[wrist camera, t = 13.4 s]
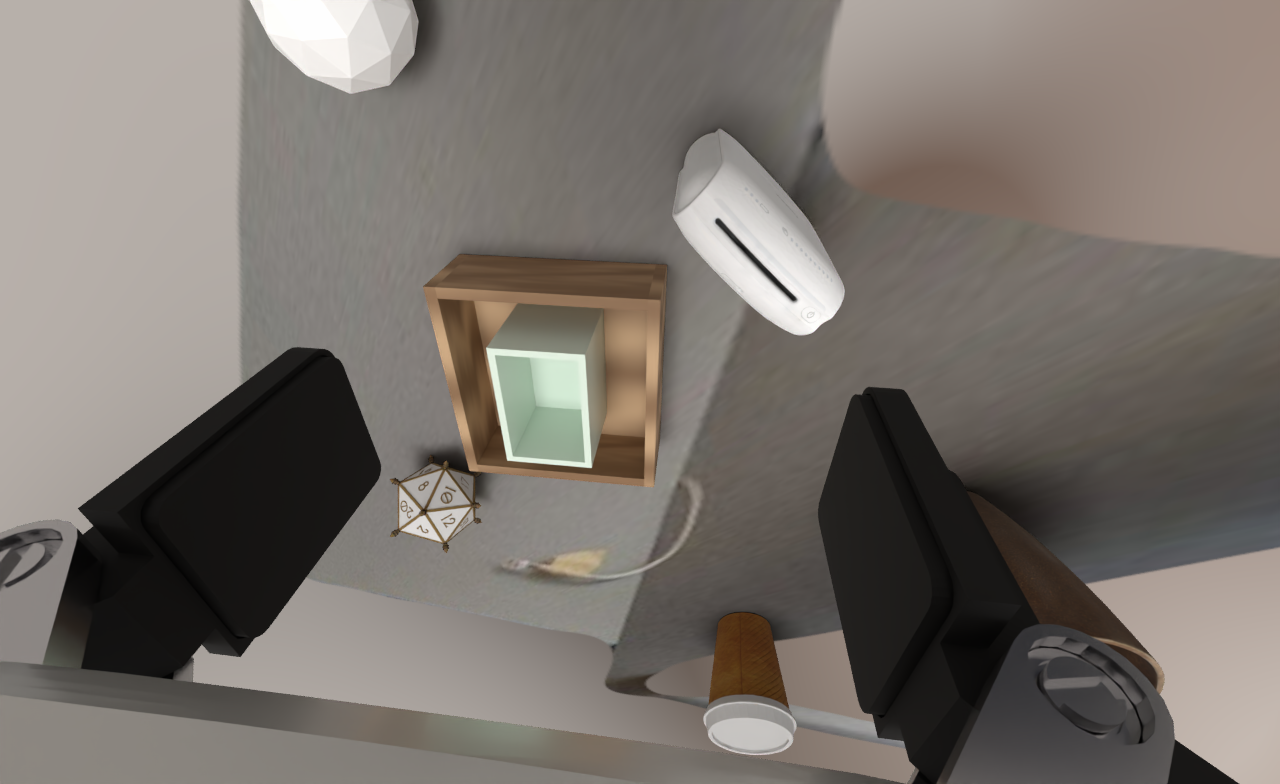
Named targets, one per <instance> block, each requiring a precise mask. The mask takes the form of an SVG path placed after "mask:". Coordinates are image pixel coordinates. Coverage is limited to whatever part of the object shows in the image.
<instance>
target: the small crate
mask: <svg viewBox="0 0 1280 784" xmlns="http://www.w3.org/2000/svg"><path fill="white" fill-rule="evenodd" d="M486 350H487V355H488V361H489V366H490V371H491V377H492V382H493V387H494V393H495V398H496V403H497V409H498V414H499V419H500V424H501V430H502V435H503V440H504V446H505V451H506V456H507V461H517V462H529V463H540V464H551V465H563V466H574V467H586V468H592V466H593V462H594V458H595V455H596V451H597V447H598V444H599V440H600V436H601V433H602V429H603V425H604V422H605V418H606V414H607V395H606V366H605V336H604V308H588V307H571V306H554V305H537V304H520V303H518V304H517V305H516V307H515V308H514V309H513V311H512V312H511V314H510V315H509V316H508V318H507V319H506V321H505V322H504V324H503V325H502V326H501V328H500V329H499V331H498V332H497V333H496V335H495V336H494V338H493V339H492V340H491V342H490V343H489V345H488V346H487V348H486Z"/></svg>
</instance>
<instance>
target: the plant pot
mask: <svg viewBox="0 0 1280 784" xmlns="http://www.w3.org/2000/svg"><path fill="white" fill-rule="evenodd" d="M967 493H968V495H969V496H970V498H971V500H972V502H973V504H974V505H975V507H976V509H977V511H978V513H979V514H980V516H981V518H982V520H983V522H984V523H985V525H986V527H987V529H988V531H989V532H990V534H991V536H992V538H993V540H994V541H995V543H996V545H997V547H998V549H999V550H1000V552H1001V554H1002V556H1003V558H1004V559H1005V561H1006V563H1007V565H1008V567H1009V568H1010V570H1011V572H1012V574H1013V576H1014V577H1015V579H1016V581H1017V583H1018V585H1019V586H1020V588H1021V590H1022V592H1023V594H1024V595H1025V597H1026V599H1027V601H1028V603H1029V604H1030V606H1031V608H1032V610H1033V612H1034V613H1035V615H1036V617H1037V619H1038V621H1039V622H1040V624H1052V625H1060V626H1064V627H1068V628H1071V629H1075V630H1078V631H1081V632H1083V633H1085V634H1087V635H1089V636H1091V637H1093V638H1095V639H1097V640H1100V641H1102V642H1103V643H1105V644H1106V645H1108V646H1109V647H1111V648H1112V649H1114V650H1115V651H1116V652H1118V653H1119V654H1121V655H1122V656H1124V657H1125V658H1126V659H1128V660H1129V661H1130V662H1131V663H1132V664H1133V665H1134V666H1135V667H1136V668H1137V669H1138V670H1139V671H1140V672H1141V673H1142V674H1143V675H1145V676H1146V677H1147V678H1148V680H1149V681H1150V682H1151V684H1152V685H1153V686H1154V688H1155V689H1156V690H1157V692H1158V693H1159V694H1160V693H1161V691H1162V689H1163V685H1164V673H1163V671H1162V669H1161V667H1160V666H1159V664H1158V663H1157V662H1156V660H1155V659H1154V658H1153V657H1152V656H1151V655H1150V654H1149V652H1148V651H1147V650H1146V649H1145V648H1144V647H1143V646H1142V645H1141V643H1140V642H1139V641H1138V640H1137V639H1136V638H1135V637H1134V636H1133V634H1132V633H1131V632H1130V631H1129V630H1128V629H1127V628H1126V627H1125V626H1124V625H1123V623H1121V621H1120V620H1119V619H1118V618H1117V617H1116V616H1115V615H1114V614H1113V613H1112V612H1111V610H1110V609H1109V608H1108V607H1107V606H1106V605H1105V604H1104V603H1103V602H1102V601H1101V600H1100V599H1099V598H1098V597H1097V596H1096V595H1095V594H1094V593H1093V592H1092V591H1091V590H1090V589H1089V588H1088V587H1087V586H1086V585H1085V584H1084V583H1083V582H1082V581H1081V580H1080V579H1079V578H1078V577H1077V576H1076V575H1075V574H1074V573H1073V572H1072V571H1071V570H1070V569H1069V568H1068V567H1066V566H1065V565H1064V564H1063V563H1062V562H1061V561H1060V560H1059V559H1058V558H1057V557H1056V556H1055V555H1054V554H1053V553H1051V552H1050V551H1049V550H1048V549H1047V548H1046V547H1045V546H1044V545H1042V544H1041V543H1040V542H1039V541H1038V540H1037V539H1036V538H1034V537H1033V536H1032V535H1031V534H1030V533H1028V532H1027V531H1026V530H1025V529H1024V528H1022V527H1021V526H1020V525H1018V524H1017V523H1016V522H1015V521H1013V520H1012V519H1011V518H1010V517H1008V516H1007V515H1006V514H1004V513H1003V512H1002V511H1000V510H999V509H998V508H996V507H995V506H994V505H992V504H991V503H989V502H988V501H986V500H985V499H983V498H982V497H981V496H979V495H977V494H975V493H973V492H969V491H967Z"/></svg>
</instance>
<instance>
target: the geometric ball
mask: <svg viewBox="0 0 1280 784" xmlns="http://www.w3.org/2000/svg"><path fill="white" fill-rule="evenodd" d="M250 2H251V4H252V6H253V8H254V10H255V11H256V13H257V15H258V17H259V19H260V21H261V23H262V25H263V27H264V29H265V31H266V33H267V34H268V36H269V38H270V40H271V42H272V43H273V45H274V47H275V48H276V49H278V50H279V51H280V52H281V53H282V54H283V55H284V56H285V57H286V58H288V59H289V60H290V61H291V62H292V63H293V64H294V65H295V66H297V67H298V68H299V69H300V70H301V71H302V72H303V73H304V74H305V75H307V76H309V77H311V78H314V79H316V80H319V81H321V82H323V83H326V84H328V85H331V86H333V87H335V88H338V89H340V90H343V91H345V92H348V93H350V94H352V93H357V92H361V91H366V90H370V89H375V88H380V87H384V86H389V85H390V84H391V83H392V82H393V81H394V79H395V78H396V77H397V75H398V74H399V73H400V72H401V70H402V69H403V68H404V67H405V65H406V64H407V63H408V62H409V60H410V59H411V58H412V57H413V55H414V52H415V45H416V38H417V30H418V23H419V21H418V17H417V14H416V11H415V8H414V4H413V1H412V0H250Z"/></svg>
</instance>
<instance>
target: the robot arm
mask: <svg viewBox="0 0 1280 784" xmlns="http://www.w3.org/2000/svg"><path fill="white" fill-rule="evenodd" d="M380 472H381V464H380V460H379V458H378V455H377V453H376V450H375V447H374V445H373V442H372V440H371V437H370V434H369V432H368V429H367V427H366V424H365V421H364V419H363V416H362V414H361V411H360V408H359V406H358V403H357V401H356V398H355V395H354V393H353V390H352V388H351V385H350V382H349V380H348V377H347V375H346V372H345V369H344V367H343V365H342V363H341V361H340V360H339V359H337V358H335V357H334V355H333V354H332V353H331V352H330V351H328V350H325V349H315V348H301V347H295V348H291V349H289V350H287V351H286V352H284V353H283V354H282V355H281V356H279V357H278V358H277V359H275V360H274V361H273V362H271V363H270V364H269V365H267V366H266V367H265V368H263V369H262V370H261V371H259V372H258V373H257V374H255V375H254V376H253V377H251V378H250V379H249V380H247V381H246V382H245V383H243V384H242V385H241V386H239V387H238V388H237V389H235V390H234V391H233V392H232V393H230V394H229V395H228V396H226V397H225V398H224V399H222V400H221V401H220V402H218V403H217V404H216V405H214V406H213V407H212V408H210V409H209V410H208V411H206V412H205V413H204V414H202V415H201V416H200V417H198V418H197V419H196V420H194V421H193V422H192V423H191V424H189V425H188V426H186V427H185V428H184V429H182V430H181V431H180V432H179V433H177V434H176V435H175V436H173V437H172V438H171V439H169V440H168V441H167V442H165V443H164V444H163V445H161V446H160V447H159V448H157V449H156V450H155V451H153V452H152V453H151V454H149V455H148V456H147V457H145V458H144V459H143V460H142V461H140V462H139V463H138V464H136V465H135V466H133V467H132V468H131V469H130V470H128V471H127V472H126V473H125V474H123V475H122V476H120V477H119V478H118V479H116V480H115V481H114V482H112V483H111V484H110V485H108V486H107V487H106V488H104V489H103V490H102V491H100V492H99V493H98V494H96V495H95V496H94V497H93V498H91V499H90V500H88V501H87V502H86V503H85V504H83V505H82V506H81V507H79V508H78V509H79V510H80V511H81V513H82V514H83V515H84V516H85V517H86V518H87V519H88V520H89V521H90V522H91V523H92V524H93V527H92V528H91V529H89V530H88V531H87V532H86V533H84V534H82V533H81V532H80V531H79V530H78V529H77V528H76V527H75V526H74V525H73V524H72V523H70V522H67V521H61V520H46V521H38V522H33V523H29V524H25V525H21V526H18V527H15V528H12V529H10V530H7V531H4V532H2V533H0V784H904V783H899V782H894V781H890V780H885V779H879V778H875V777H870V776H866V775H861V774H856V773H849V772H843V771H836V770H830V769H824V768H816V767H811V766H804V765H798V764H792V763H785V762H779V761H772V760H766V759H759V758H753V757H747V756H740V755H733V754H727V753H720V752H714V751H706V750H699V749H691V748H684V747H677V746H669V745H663V744H655V743H648V742H641V741H634V740H626V739H619V738H612V737H604V736H597V735H589V734H583V733H575V732H568V731H560V730H554V729H546V728H539V727H532V726H524V725H517V724H509V723H502V722H494V721H486V720H479V719H472V718H464V717H457V716H449V715H442V714H434V713H426V712H419V711H412V710H404V709H396V708H389V707H381V706H373V705H366V704H358V703H351V702H343V701H335V700H327V699H320V698H313V697H305V696H297V695H290V694H281V693H273V692H266V691H258V690H250V689H242V688H234V687H226V686H219V685H211V684H202V683H195V682H193V663H194V661H193V660H194V658H193V654H194V653H195V652H196V651H197V649H198V648H199V647H200V646H201V645H203V646H204V647H205V648H206V649H207V650H208V652H209V653H213V654H221V655H229V656H236V657H241V656H242V654H243V653H244V652H245V650H246V649H247V647H248V646H249V645H250V643H251V642H252V641H253V639H254V638H256V637H258V636H260V635H262V634H263V633H264V632H265V631H266V630H267V629H268V628H269V627H270V625H271V624H272V623H273V621H274V620H275V619H276V617H277V616H278V614H279V613H280V612H281V611H282V609H283V608H284V606H285V605H286V604H287V602H288V601H289V600H290V598H291V597H292V596H293V594H294V593H295V591H296V590H297V589H298V587H299V586H300V585H301V584H302V582H303V581H304V579H305V578H306V577H307V575H308V574H309V573H310V571H311V570H312V569H313V567H314V566H315V565H316V563H317V562H318V561H319V559H320V558H321V557H322V555H323V554H324V552H325V551H326V550H327V548H328V547H329V546H330V544H331V543H332V542H333V540H334V539H335V538H336V536H337V535H338V534H339V532H340V531H341V529H342V528H343V527H344V525H345V524H346V523H347V521H348V520H349V519H350V517H351V516H352V515H353V513H354V512H355V511H356V509H357V508H358V507H359V505H360V504H361V502H362V501H363V500H364V498H365V497H366V496H367V494H368V493H369V492H370V490H371V489H372V488H373V486H374V485H375V484H376V482H377V480H378V479H379V476H380ZM818 518H819V525H820V529H821V534H822V538H823V543H824V547H825V552H826V556H827V561H828V565H829V570H830V574H831V579H832V584H833V588H834V593H835V597H836V602H837V606H838V611H839V615H840V620H841V624H842V629H843V633H844V638H845V643H846V647H847V652H848V656H849V661H850V665H851V670H852V674H853V679H854V683H855V688H856V693H857V697H858V701H859V704H860V707H861V709H862V711H863V712H864V713H867V714H872V715H873V719H874V723H875V727H876V731H877V736H878V738H885V739H892V740H900V741H904V743H905V747H906V750H907V754H908V758H909V761H910V762H911V763H912V764H913V765H914V766H915V767H916V768H915V770H914V772H913V773H912V775H911V777H910V780H909V781H908V783H907V784H1239V783H1237V782H1236V781H1234V780H1233V779H1231V778H1230V777H1229V776H1227V775H1226V774H1224V773H1223V772H1221V771H1220V770H1218V769H1217V768H1216V767H1214V766H1213V765H1211V764H1210V763H1208V762H1207V761H1205V760H1204V759H1202V758H1201V757H1199V756H1198V755H1196V754H1195V753H1194V752H1192V751H1191V750H1189V749H1188V748H1187V747H1185V746H1184V745H1182V744H1180V743H1179V742H1178V741H1176V740H1175V737H1174V725H1173V724H1174V723H1173V720H1172V717H1171V715H1170V713H1169V711H1168V709H1167V706H1166V704H1165V702H1164V700H1163V698H1162V697H1161V696H1160V694H1159V693H1158V692H1157V690H1156V689H1155V688H1154V686H1153V685H1152V684H1151V682H1150V681H1149V680H1148V678H1147V677H1146V676H1145V675H1143V674H1142V673H1141V672H1140V671H1139V670H1138V669H1137V668H1136V667H1135V666H1134V665H1133V664H1132V663H1131V662H1130V661H1129V660H1128V659H1126V658H1125V657H1124V656H1122V655H1121V654H1119V653H1118V652H1116V651H1115V650H1114V649H1112V648H1111V647H1109V646H1108V645H1106V644H1105V643H1103V642H1102V641H1100V640H1097V639H1095V638H1093V637H1091V636H1089V635H1087V634H1085V633H1083V632H1081V631H1078V630H1075V629H1071V628H1068V627H1064V626H1060V625H1052V624H1040V622H1039V621H1038V619H1037V617H1036V615H1035V613H1034V612H1033V610H1032V608H1031V606H1030V604H1029V603H1028V601H1027V599H1026V597H1025V595H1024V594H1023V592H1022V590H1021V588H1020V586H1019V585H1018V583H1017V581H1016V579H1015V577H1014V576H1013V574H1012V572H1011V570H1010V568H1009V567H1008V565H1007V563H1006V561H1005V559H1004V558H1003V556H1002V554H1001V552H1000V550H999V549H998V547H997V545H996V543H995V541H994V540H993V538H992V536H991V534H990V532H989V531H988V529H987V527H986V525H985V523H984V522H983V520H982V518H981V516H980V514H979V513H978V511H977V509H976V507H975V505H974V504H973V502H972V500H971V498H970V496H969V495H968V493H967V491H966V489H965V487H964V486H963V484H962V482H961V480H960V479H959V478H958V476H957V475H956V474H955V473H954V472H952V471H950V470H948V469H947V467H946V465H945V463H944V461H943V459H942V457H941V456H940V454H939V452H938V450H937V448H936V446H935V444H934V443H933V441H932V439H931V437H930V435H929V433H928V432H927V430H926V428H925V426H924V424H923V422H922V420H921V419H920V417H919V415H918V413H917V411H916V409H915V407H914V406H913V404H912V402H911V400H910V398H909V396H908V395H907V393H906V392H905V391H904V390H902V389H891V388H876V387H868V388H866V389H865V390H864V392H863V394H862V395H856V394H855V395H853V397H852V398H851V401H850V404H849V407H848V410H847V414H846V417H845V420H844V423H843V427H842V430H841V433H840V436H839V440H838V443H837V446H836V449H835V453H834V456H833V459H832V462H831V466H830V469H829V472H828V476H827V479H826V482H825V485H824V489H823V492H822V495H821V498H820V502H819V508H818Z"/></svg>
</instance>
